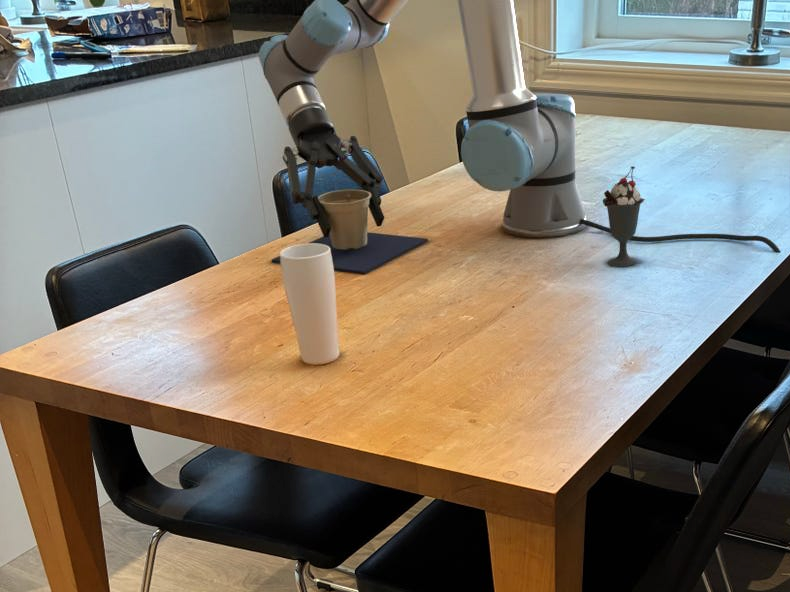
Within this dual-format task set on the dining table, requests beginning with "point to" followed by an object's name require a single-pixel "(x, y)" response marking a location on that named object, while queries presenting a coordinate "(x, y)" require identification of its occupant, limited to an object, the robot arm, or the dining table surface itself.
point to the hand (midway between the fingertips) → (354, 227)
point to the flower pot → (347, 217)
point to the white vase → (312, 300)
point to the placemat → (369, 252)
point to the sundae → (623, 217)
